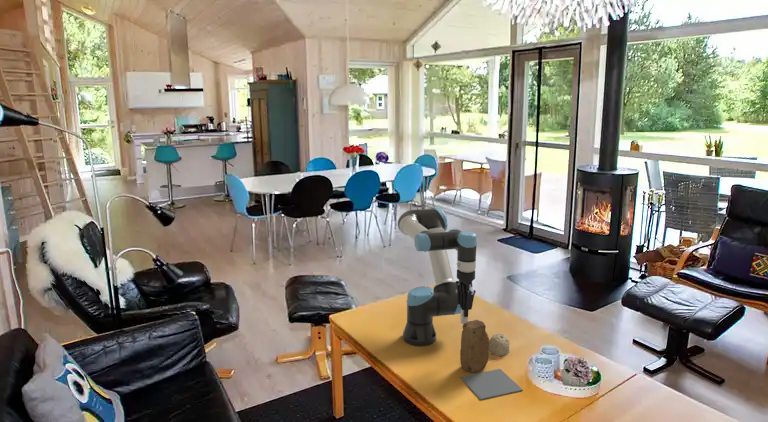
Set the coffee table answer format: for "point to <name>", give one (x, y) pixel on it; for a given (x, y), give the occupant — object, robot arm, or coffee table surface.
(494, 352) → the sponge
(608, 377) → the coffee table surface
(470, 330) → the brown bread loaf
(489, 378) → the mat
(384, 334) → the coffee table surface
